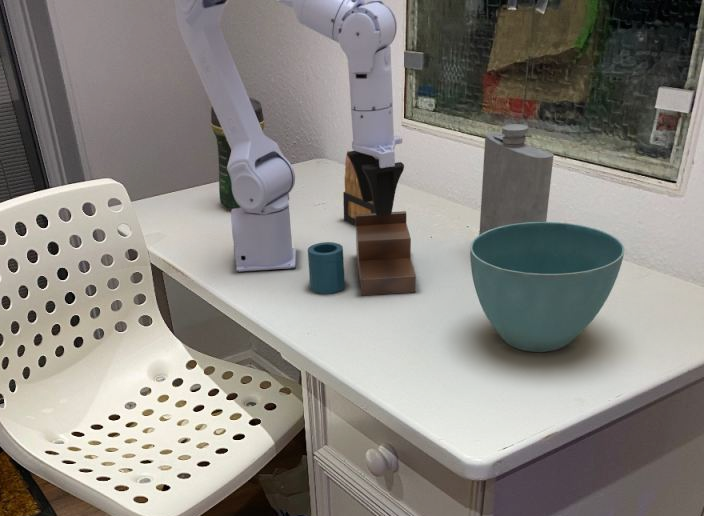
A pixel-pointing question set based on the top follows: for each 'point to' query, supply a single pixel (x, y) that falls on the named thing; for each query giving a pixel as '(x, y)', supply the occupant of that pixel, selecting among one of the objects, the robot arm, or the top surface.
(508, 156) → the hip flask
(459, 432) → the top surface
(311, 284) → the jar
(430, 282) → the top surface
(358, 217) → the step shelf
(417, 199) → the top surface
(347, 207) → the ammunition clip
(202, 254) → the top surface
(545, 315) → the teal bowl
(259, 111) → the coffee jar
